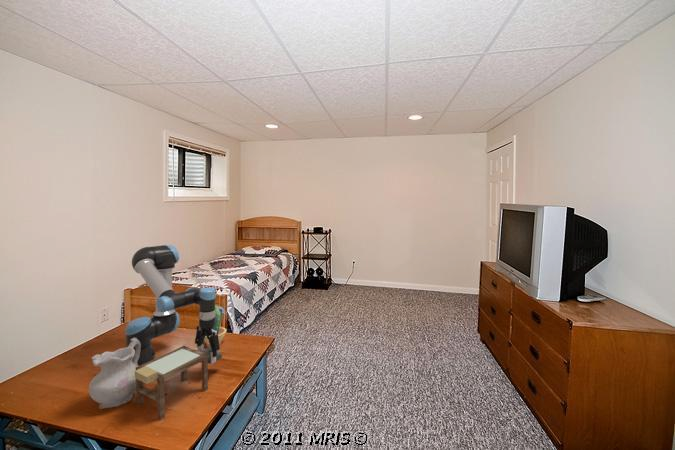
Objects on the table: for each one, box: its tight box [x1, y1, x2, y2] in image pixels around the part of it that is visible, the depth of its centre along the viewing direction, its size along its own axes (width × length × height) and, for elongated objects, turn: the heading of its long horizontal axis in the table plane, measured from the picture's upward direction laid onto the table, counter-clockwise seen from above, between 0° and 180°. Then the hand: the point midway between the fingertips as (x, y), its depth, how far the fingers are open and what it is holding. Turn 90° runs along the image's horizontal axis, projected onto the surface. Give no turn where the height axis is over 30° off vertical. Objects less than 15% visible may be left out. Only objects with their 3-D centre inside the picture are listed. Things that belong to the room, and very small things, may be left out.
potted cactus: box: [203, 304, 227, 348], centre depth 181 cm, size 15×15×25 cm
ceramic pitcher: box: [88, 337, 141, 410], centre depth 129 cm, size 22×20×25 cm
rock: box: [199, 346, 223, 365], centre depth 148 cm, size 13×9×6 cm, turn 148°
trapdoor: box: [135, 349, 201, 385], centre depth 128 cm, size 13×23×3 cm, turn 153°
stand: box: [135, 345, 209, 421], centre depth 130 cm, size 18×23×18 cm
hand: (207, 359), depth 148 cm, fingers closed on rock, 9 cm apart
